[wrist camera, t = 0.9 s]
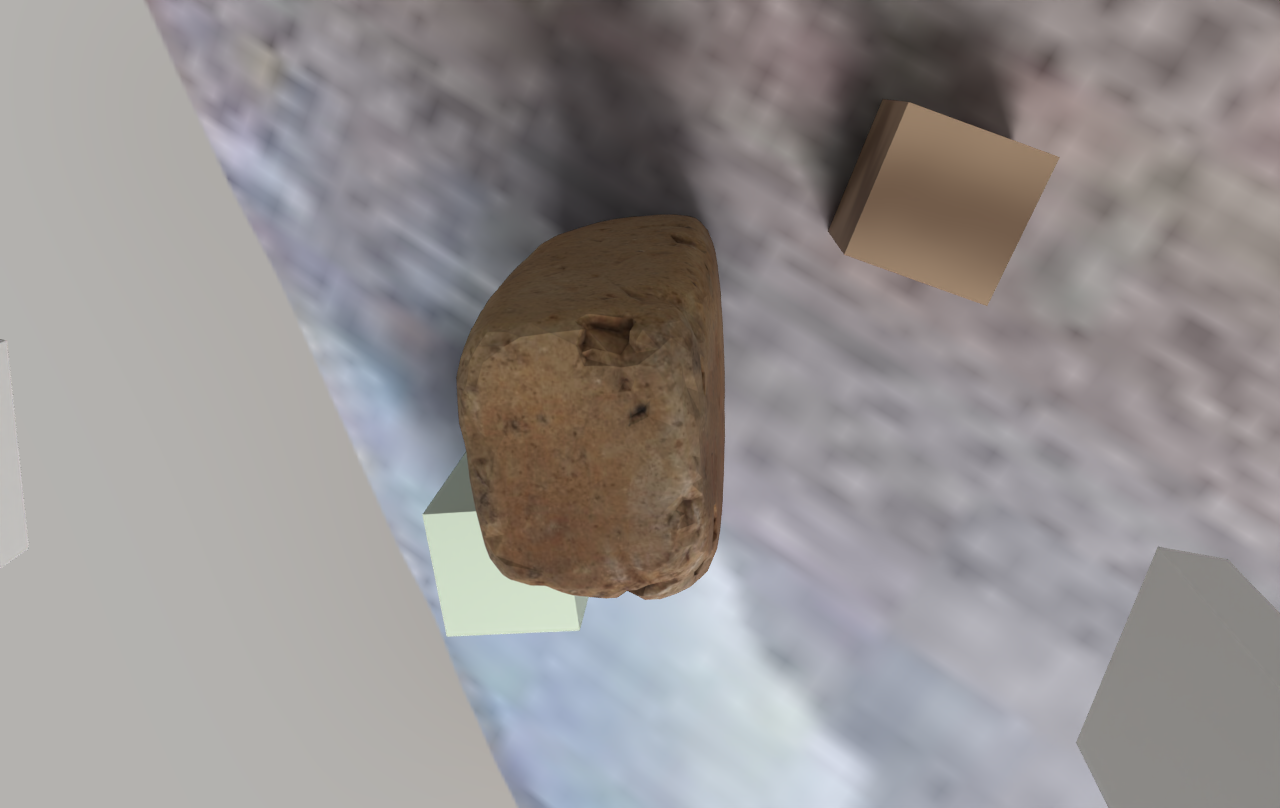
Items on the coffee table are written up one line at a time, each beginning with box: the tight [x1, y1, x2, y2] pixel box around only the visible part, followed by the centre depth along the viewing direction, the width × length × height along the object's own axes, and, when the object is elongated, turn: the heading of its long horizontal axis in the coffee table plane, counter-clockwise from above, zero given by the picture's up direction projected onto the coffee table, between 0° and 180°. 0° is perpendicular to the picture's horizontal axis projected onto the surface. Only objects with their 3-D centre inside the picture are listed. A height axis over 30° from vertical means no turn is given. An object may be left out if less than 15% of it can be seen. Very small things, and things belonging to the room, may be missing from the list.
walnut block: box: [828, 99, 1060, 306], centre depth 38 cm, size 6×6×6 cm
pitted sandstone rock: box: [456, 215, 725, 600], centre depth 34 cm, size 11×8×20 cm
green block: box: [423, 453, 588, 637], centre depth 44 cm, size 6×6×8 cm
